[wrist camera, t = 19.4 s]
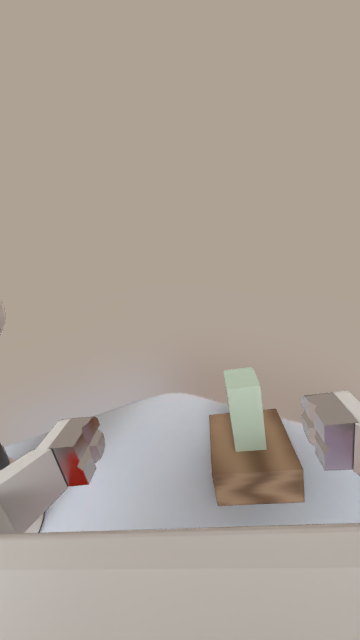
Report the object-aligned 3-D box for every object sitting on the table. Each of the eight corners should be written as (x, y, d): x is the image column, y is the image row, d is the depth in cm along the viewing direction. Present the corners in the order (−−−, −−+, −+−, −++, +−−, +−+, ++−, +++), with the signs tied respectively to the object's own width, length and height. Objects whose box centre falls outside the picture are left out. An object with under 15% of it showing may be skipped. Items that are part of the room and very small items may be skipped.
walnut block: (217, 505, 35) (212, 474, 33) (213, 440, 46) (209, 415, 44) (304, 502, 33) (303, 469, 31) (278, 435, 44) (275, 408, 43)
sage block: (235, 451, 36) (226, 389, 33) (231, 427, 40) (223, 370, 37) (266, 449, 35) (260, 385, 32) (258, 424, 40) (252, 367, 37)
